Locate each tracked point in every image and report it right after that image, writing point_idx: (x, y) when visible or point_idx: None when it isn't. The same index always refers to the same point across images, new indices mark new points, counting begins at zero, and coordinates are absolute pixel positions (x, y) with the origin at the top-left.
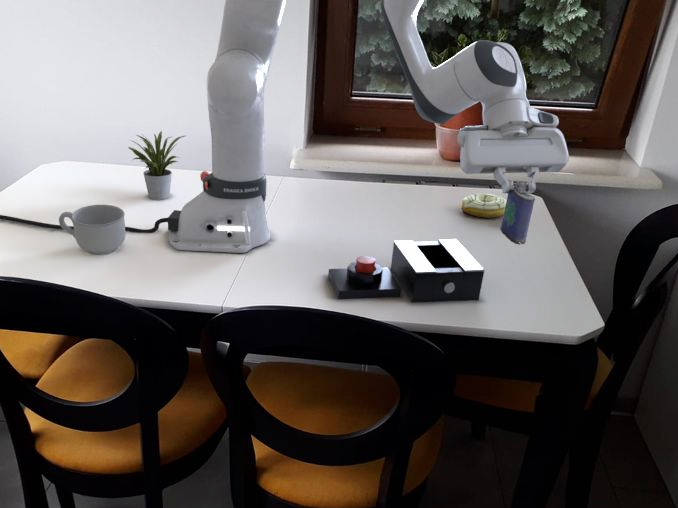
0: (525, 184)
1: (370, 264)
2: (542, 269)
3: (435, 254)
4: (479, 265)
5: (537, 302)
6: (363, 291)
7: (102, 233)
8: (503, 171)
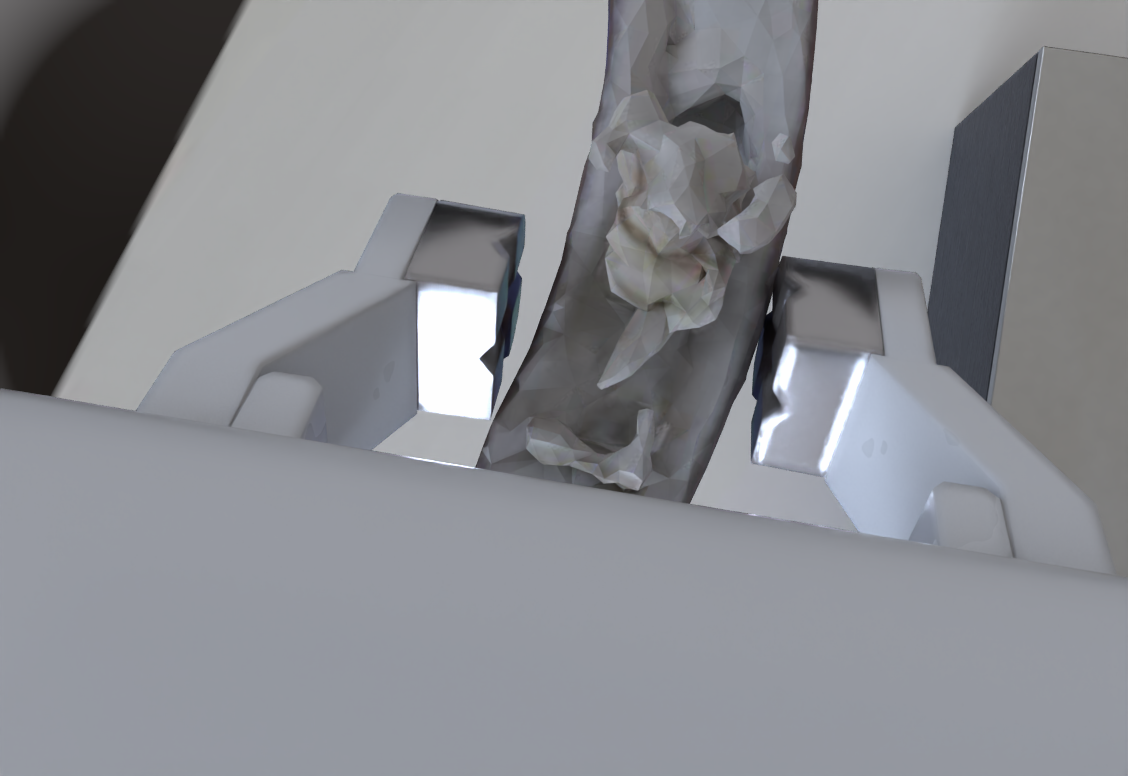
0: (658, 114)
1: None
2: None
3: None
4: (1041, 131)
5: (582, 14)
6: None
7: None
8: (987, 502)
